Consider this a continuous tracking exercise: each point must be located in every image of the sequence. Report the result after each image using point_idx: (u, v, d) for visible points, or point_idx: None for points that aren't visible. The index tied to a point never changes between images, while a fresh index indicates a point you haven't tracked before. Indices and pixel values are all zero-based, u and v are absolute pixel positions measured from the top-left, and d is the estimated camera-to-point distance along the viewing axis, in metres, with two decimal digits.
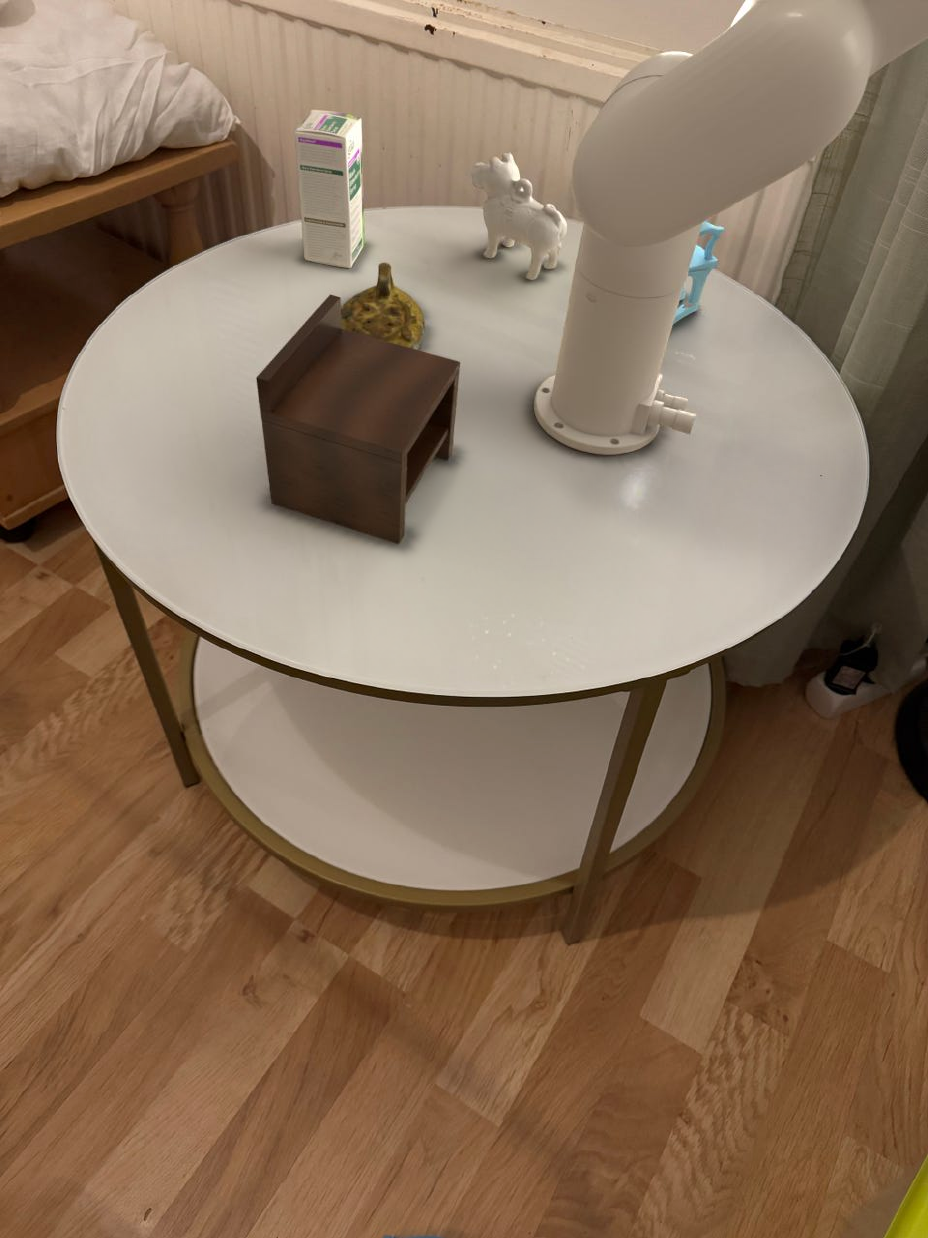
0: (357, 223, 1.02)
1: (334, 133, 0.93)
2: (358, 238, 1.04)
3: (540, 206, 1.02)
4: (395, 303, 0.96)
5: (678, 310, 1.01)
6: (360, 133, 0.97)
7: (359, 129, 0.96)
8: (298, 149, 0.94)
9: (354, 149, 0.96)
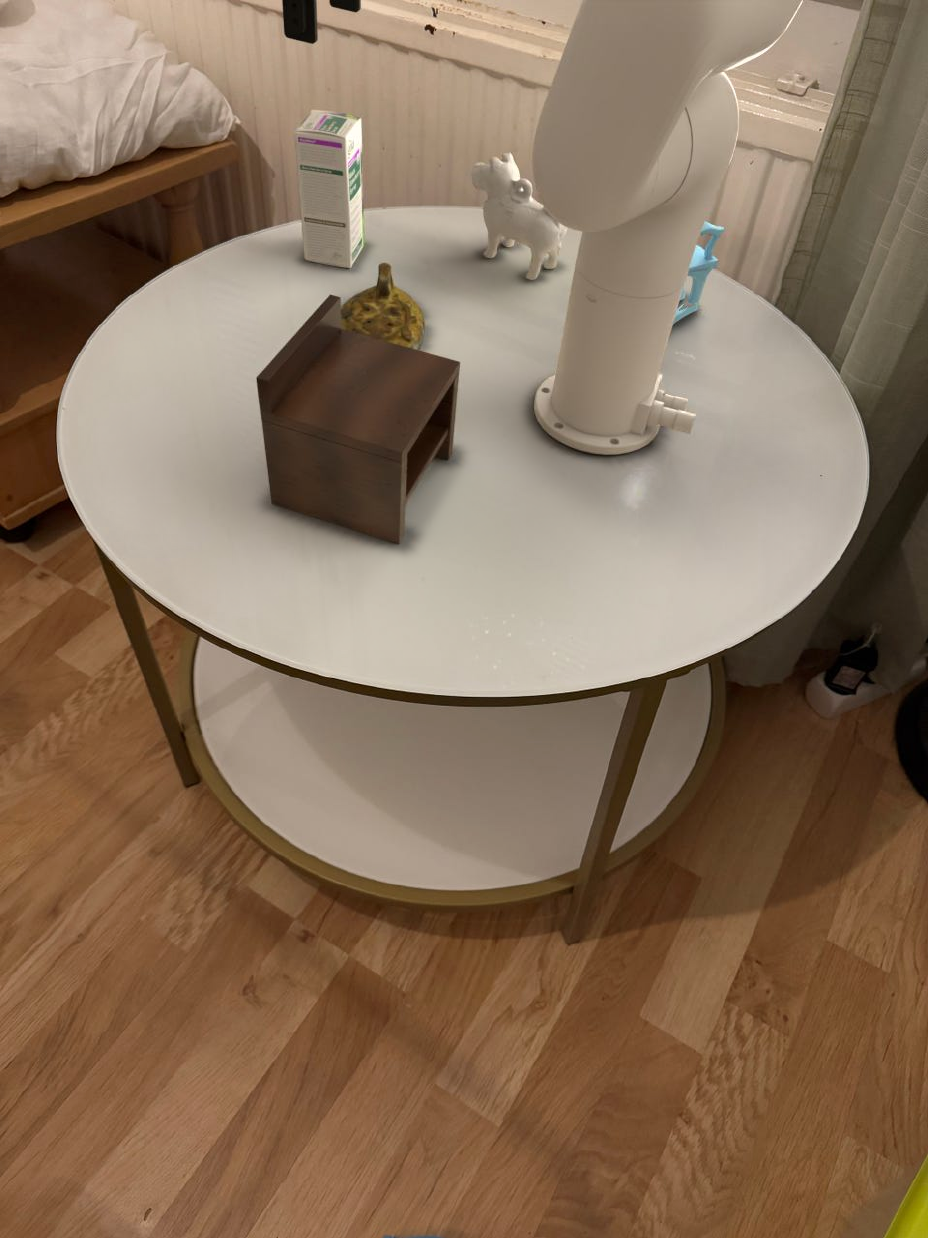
0: (357, 223, 1.02)
1: (334, 133, 0.93)
2: (358, 238, 1.04)
3: (540, 206, 1.02)
4: (395, 303, 0.96)
5: (678, 310, 1.01)
6: (360, 133, 0.97)
7: (359, 129, 0.96)
8: (298, 149, 0.94)
9: (354, 149, 0.96)
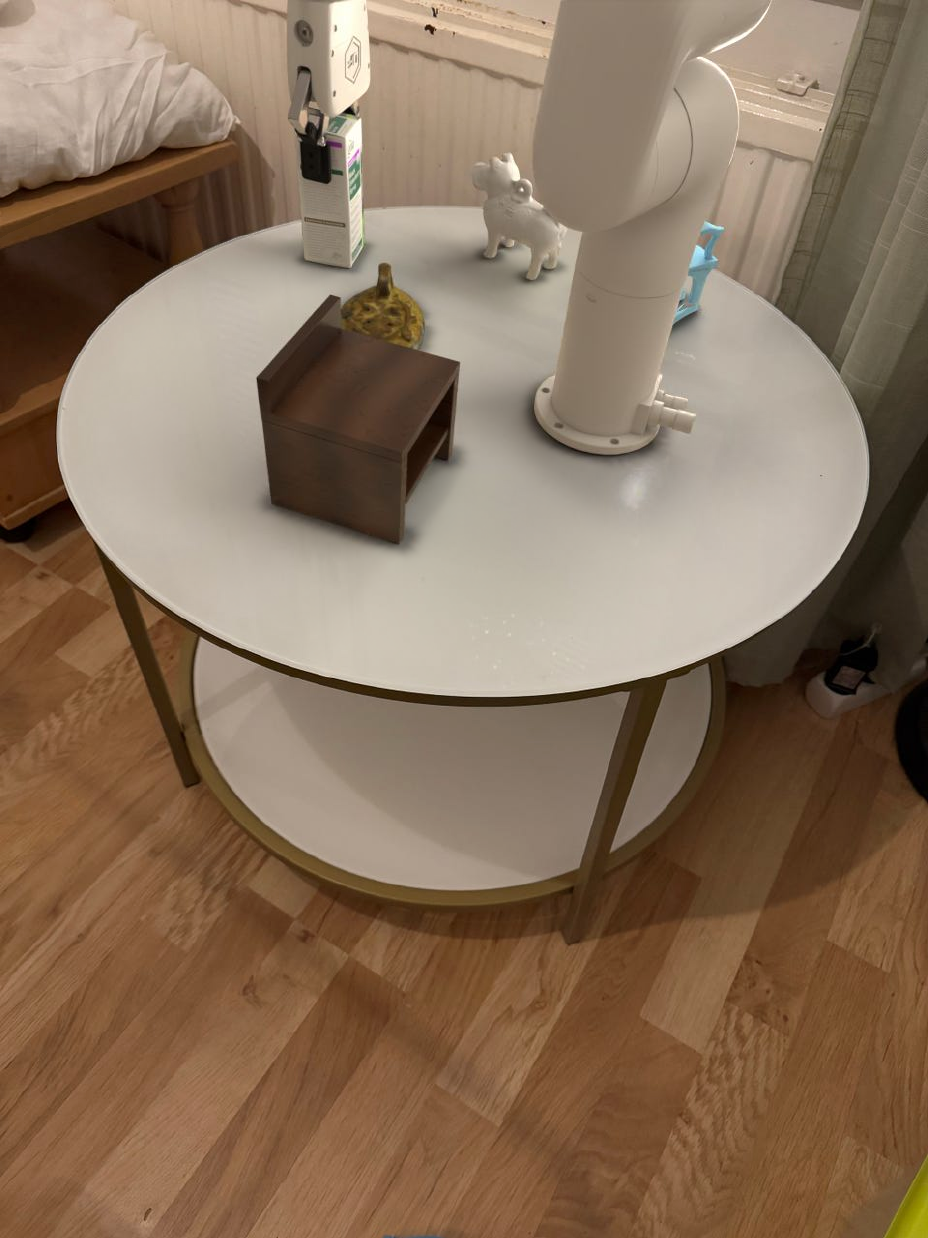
0: (357, 223, 1.02)
1: (334, 133, 0.93)
2: (358, 238, 1.04)
3: (540, 206, 1.02)
4: (395, 303, 0.96)
5: (677, 310, 1.01)
6: (360, 133, 0.97)
7: (359, 129, 0.96)
8: (298, 148, 0.94)
9: (354, 149, 0.96)
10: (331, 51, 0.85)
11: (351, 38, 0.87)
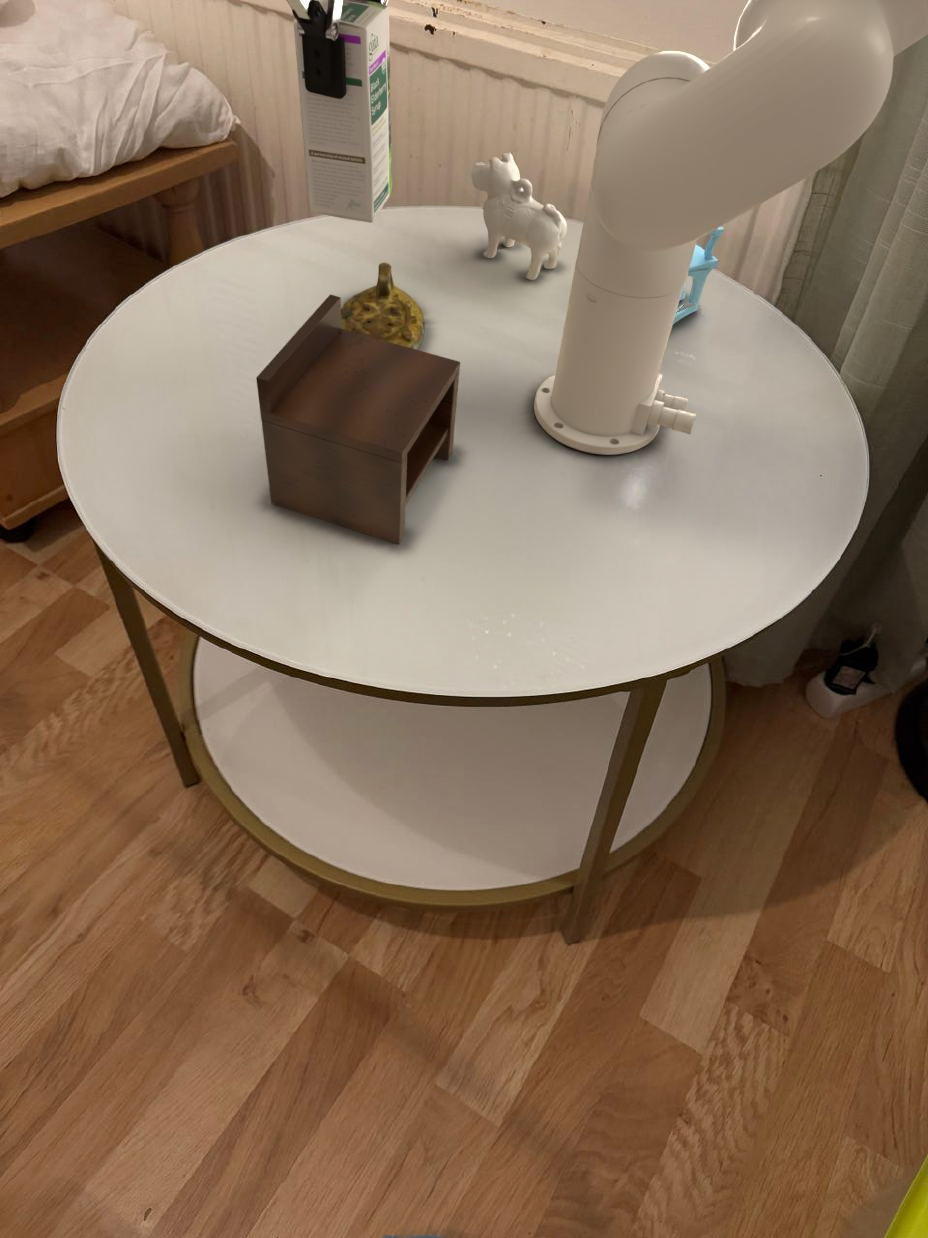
0: (382, 161, 0.74)
1: (350, 22, 0.65)
2: (383, 182, 0.76)
3: (540, 206, 1.02)
4: (395, 303, 0.96)
5: (677, 310, 1.01)
6: (387, 29, 0.69)
7: (386, 23, 0.68)
8: (299, 47, 0.67)
9: (378, 50, 0.68)
10: None
11: None
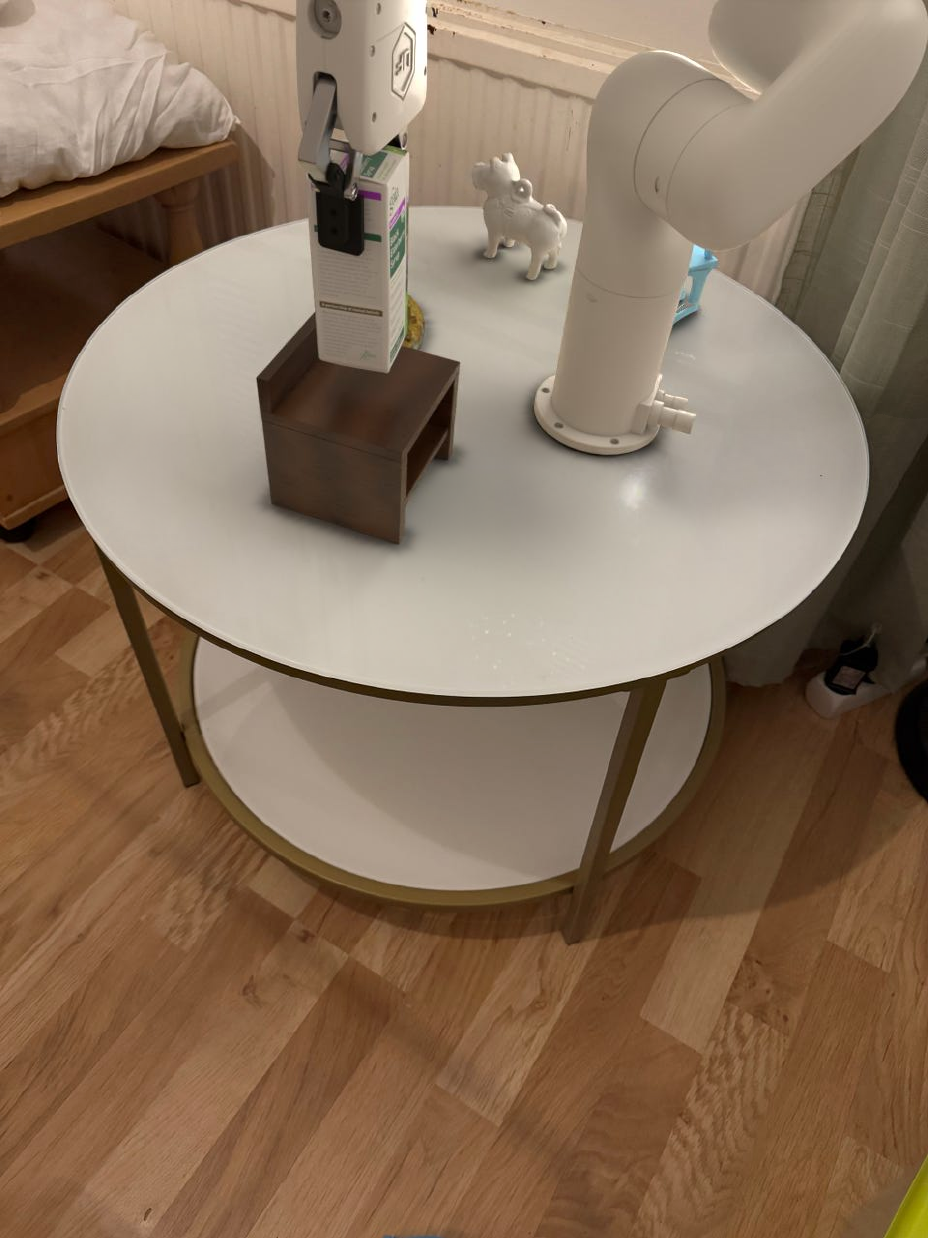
0: (399, 308, 0.68)
1: (369, 177, 0.58)
2: (399, 328, 0.69)
3: (540, 206, 1.02)
4: None
5: (677, 309, 1.01)
6: (407, 175, 0.62)
7: (406, 169, 0.62)
8: (311, 201, 0.60)
9: (398, 201, 0.61)
10: (371, 47, 0.51)
11: (402, 26, 0.53)
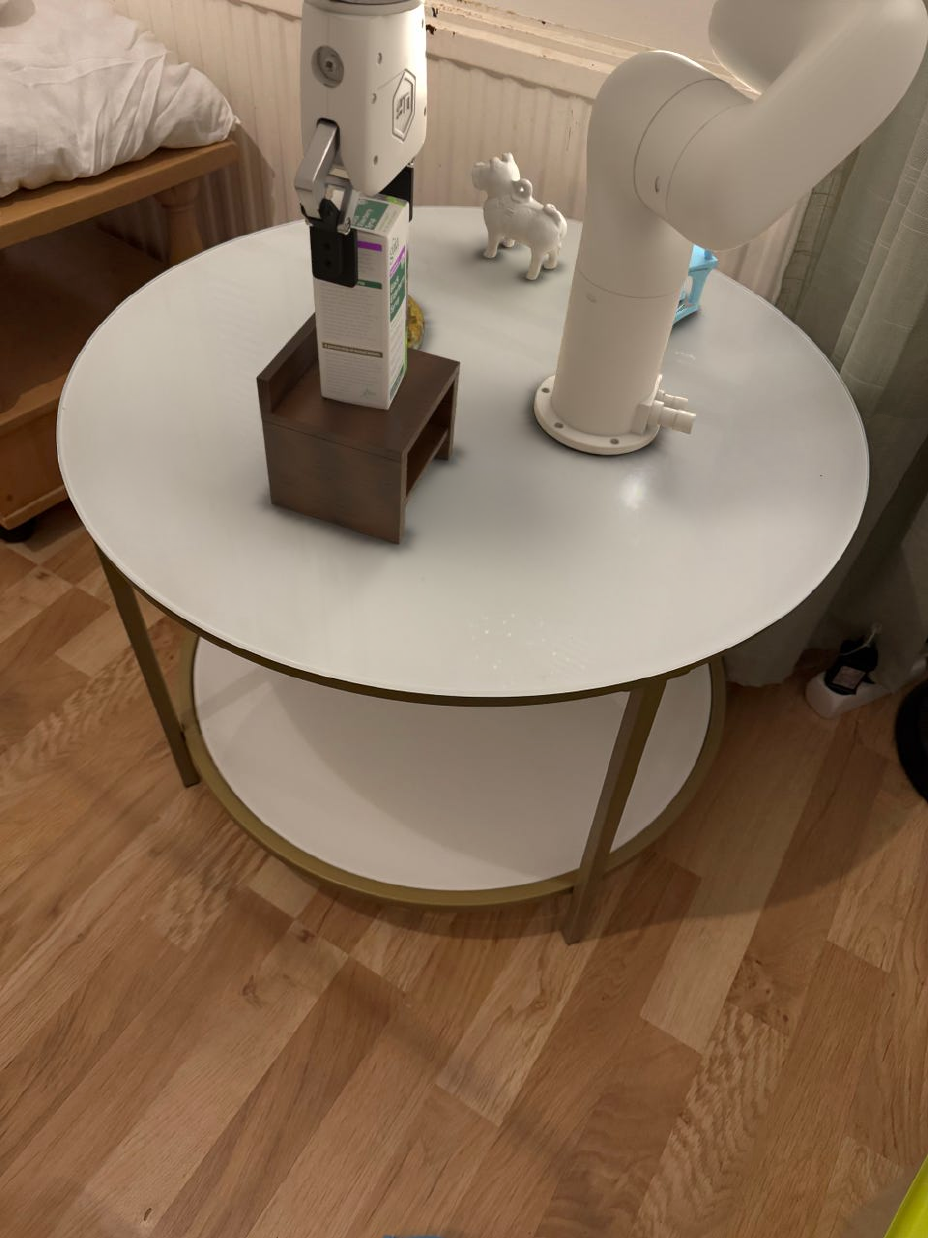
0: (399, 348, 0.70)
1: (371, 229, 0.61)
2: (399, 366, 0.72)
3: (540, 206, 1.02)
4: None
5: (677, 310, 1.01)
6: (407, 224, 0.65)
7: (406, 219, 0.64)
8: None
9: (399, 249, 0.64)
10: (372, 95, 0.52)
11: (403, 72, 0.55)
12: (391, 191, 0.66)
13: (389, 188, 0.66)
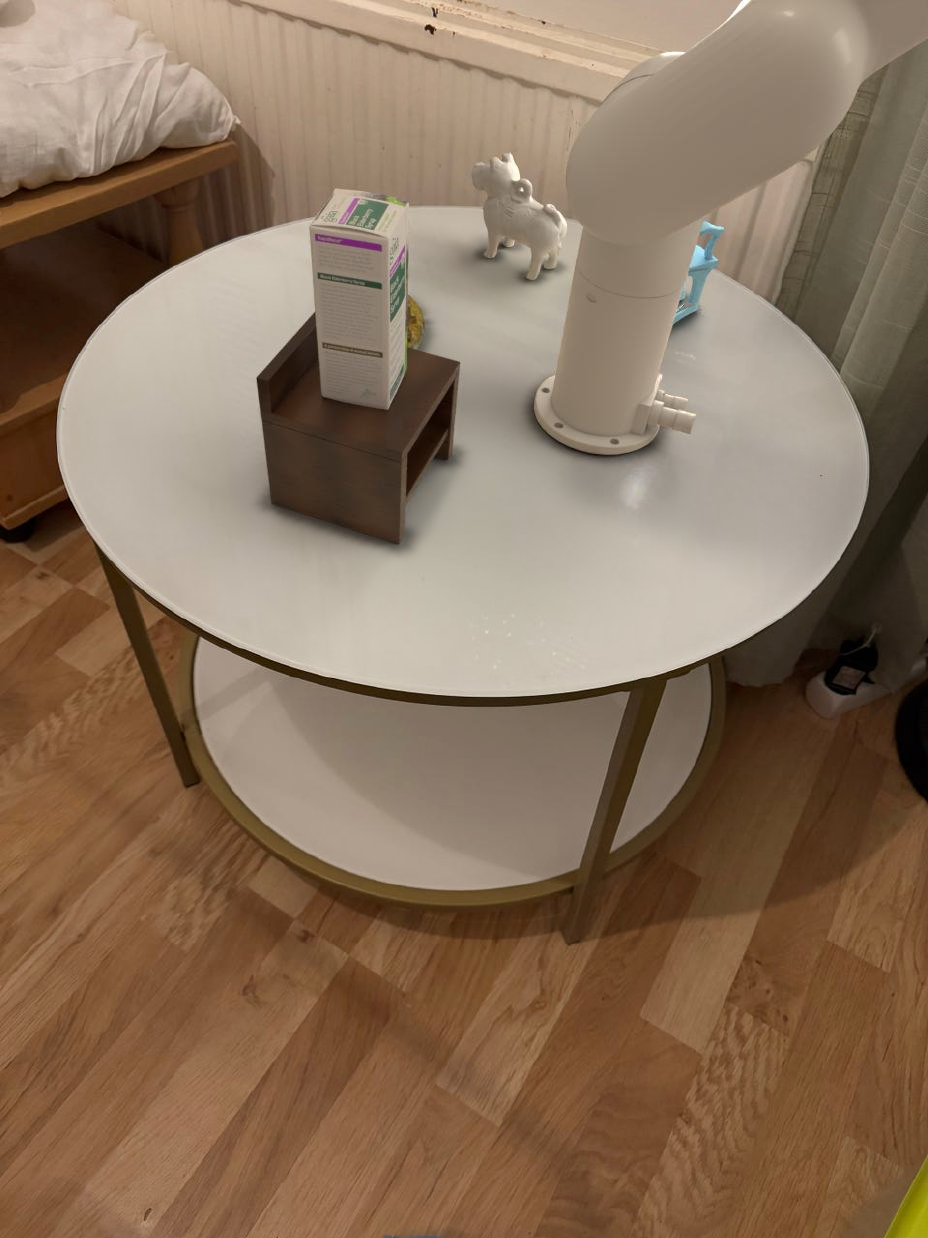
0: (399, 348, 0.70)
1: (371, 229, 0.61)
2: (399, 366, 0.72)
3: (540, 206, 1.02)
4: None
5: (677, 310, 1.01)
6: (407, 224, 0.65)
7: (406, 219, 0.64)
8: (315, 250, 0.62)
9: (399, 249, 0.64)
10: None
11: None
12: None
13: None
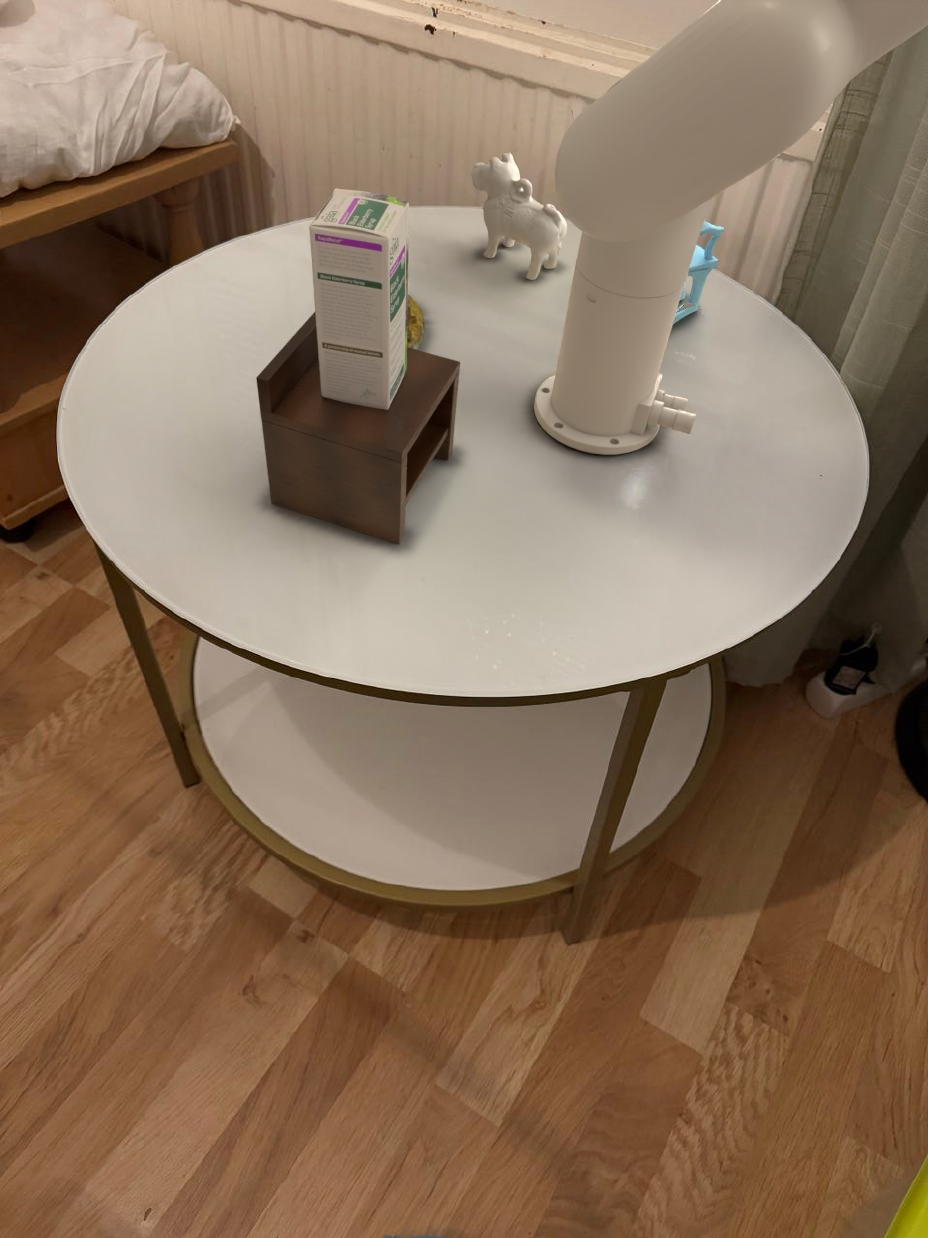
0: (399, 348, 0.70)
1: (371, 229, 0.61)
2: (399, 366, 0.72)
3: (540, 206, 1.02)
4: None
5: (677, 310, 1.01)
6: (407, 224, 0.65)
7: (406, 219, 0.64)
8: (315, 250, 0.62)
9: (399, 249, 0.64)
10: None
11: None
12: None
13: None
